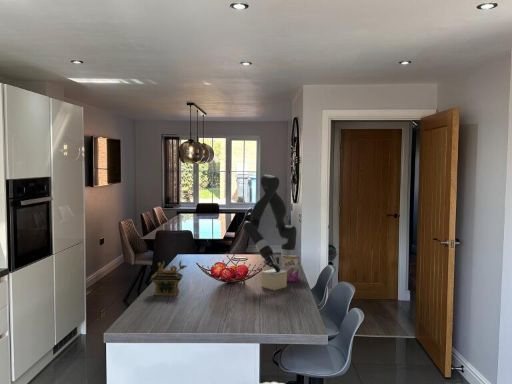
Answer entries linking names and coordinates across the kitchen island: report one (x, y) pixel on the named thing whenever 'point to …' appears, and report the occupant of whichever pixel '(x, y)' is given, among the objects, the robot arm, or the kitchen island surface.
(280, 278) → the carton
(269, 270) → the lid flap
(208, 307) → the kitchen island surface
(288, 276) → the candy bar box
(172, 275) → the decorative box
